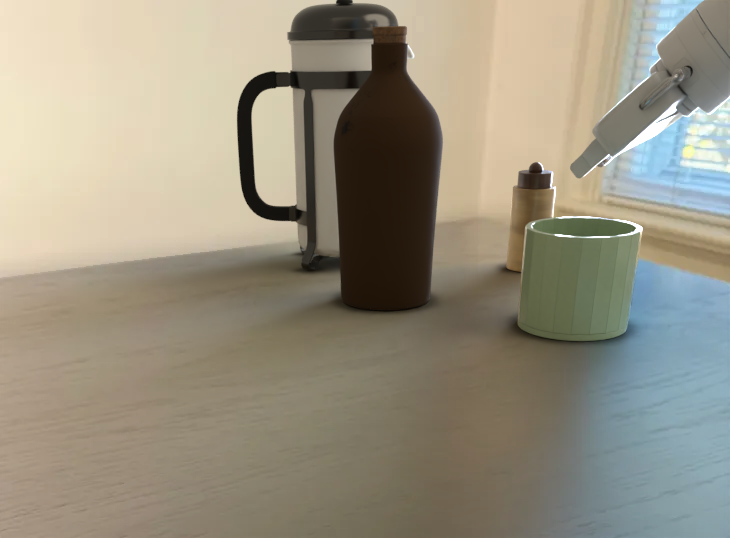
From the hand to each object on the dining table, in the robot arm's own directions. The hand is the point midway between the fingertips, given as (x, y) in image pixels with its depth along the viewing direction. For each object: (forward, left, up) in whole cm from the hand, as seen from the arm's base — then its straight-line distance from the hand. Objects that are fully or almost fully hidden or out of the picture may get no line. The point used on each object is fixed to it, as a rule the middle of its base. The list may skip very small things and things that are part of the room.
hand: (586, 167), depth 97 cm
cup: (+3, +22, -11) cm, 25 cm away
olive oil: (+21, +13, -11) cm, 27 cm away
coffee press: (+28, -5, -11) cm, 31 cm away
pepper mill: (+5, -2, -11) cm, 13 cm away
